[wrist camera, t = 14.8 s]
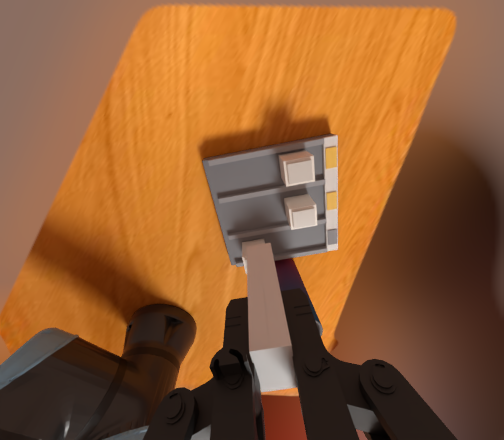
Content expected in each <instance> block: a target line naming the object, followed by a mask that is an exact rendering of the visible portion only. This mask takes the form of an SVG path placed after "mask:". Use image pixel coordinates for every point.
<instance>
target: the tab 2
mask: <svg viewBox="0 0 504 440" xmlns="http://www.w3.org/2000/svg"><path fill="white" fill-rule="evenodd" d="M279 164H280V172H281V178H282V180H283V182H284V184H285V185H286V187H287V186H293V185H298V184H304V183H309V182H315V169H314V156H313V155H312V154H310V153H309V152H307V151H306V150H302V151H297V152H292V153H287V154H281V155H279Z"/></svg>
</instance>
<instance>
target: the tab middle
mask: <svg viewBox="0 0 504 440" xmlns="http://www.w3.org/2000/svg"><path fill="white" fill-rule="evenodd" d="M284 204H285V212H286V218H287V220H288V223H289V226H290V228H291V230H294V229H300V228H305V227H311V226H317V208H316V203H315V202H314V201H313V199H312V198H311V197H310V196H309V194H304V195H299V196H293V197H288V198H284Z"/></svg>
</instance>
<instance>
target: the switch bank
mask: <svg viewBox="0 0 504 440" xmlns="http://www.w3.org/2000/svg"><path fill="white" fill-rule="evenodd" d="M302 150H306V151H307V152H309V153H310V154H312V155H313V156H314V169H315V182H309V183H304V184H298V185H293V186H287V187H286V185H285V184H284V182H283V180H282V178H281V172H280V164H279V155H281V154H287V153H292V152H297V151H302ZM202 162H203V166H204V169H205V173H206V176H207V180H208V183H209V187H210V190H211V194H212V197H213V201H214V204H215V208H216V212H217V215H218V219H219V222H220V226H221V229H222V233H223V236H224V240H225V243H226V247H227V250H228V254H229V258H230V261H231V265H236V266H237V267H240V266H244V264H243V260H242V242H247V241H252V240H258V239H264V241H265V244H266V243H271V248H272V253H273V257H274V261H276V260H282V259H288V258H294V257H300V256H306V255H312V254H318V253H324V252H327V251H332V250H338V135H334V134H327V135H321V136H316V137H311V138H306V139H301V140H296V141H291V142H285V143H280V144H275V145H270V146H265V147H260V148H255V149H250V150H244V151H239V152H234V153H229V154H224V155H219V156H214V157H208V158H204V159H203V161H202ZM304 194H309V196H310V197H311V198H312V199H313V201H314V202H315V203H316V208H317V226H311V227H305V228H300V229H294V230H291V228H290V226H289V223H288V220H287V218H286V212H285V204H284V198H288V197H293V196H299V195H304Z"/></svg>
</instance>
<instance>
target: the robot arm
mask: <svg viewBox="0 0 504 440" xmlns="http://www.w3.org/2000/svg"><path fill="white" fill-rule="evenodd" d="M247 285H248V297H245V298H239V299H233V300H231V301H230V303H229V304H228V306H227V308H226V318H225V319H226V320H225V330H224V342H223V348H222V349H221V350H219V351H218V352H217V353H216V354H215V355H214V357H213V358H212V360H211V364H210V369H211V372H212V374H213V376H214V377H213V378H212V379H211V380H209V381H208V382H206V383H205V384H203V385H201V386H199V387H197V388H195V389H194V390H192V391H190V390H189V389H186V388H184V387H183V388H176V389H175V385H176V381H177V377H178V372H179V368H180V365H181V363H182V361H183V360H184V358H185V356H186V355H187V353H188V351H189V349H190V347H191V346H192V344H193V342H194V339H195V335H196V329H197V328H196V323H195V321H194V319H193V318H192V317H191V316H190V315H189V314H188V313H186V312H185V311H183V310H182V309H179V308H177V307H174V306H170V305H163V304H155V305H149V306H145V307H143V308H141V309H139V310H138V311H136V312H135V313H134V315H133V316H132V318H131V320H130V322H129V324H128V326H127V330H126V337H125V343H124V350H123V354H122V356H121V357H119V356H117V355H115V354H113V353H111V352H109V351H107V350H105V349H102V348H100V347H98V346H96V345H94V344H92V343H90V342H88V341H86V340H84V339H82V338H80V337H79V336H78V335H73V334H70V333H68V332H65V331H63V330H60V329H58V328H47V329H44V330H42V331H40V332H38V333H37V334H36V335H35V336H33V337H32V338H31V339H30V340H29V341H27V342H26V343H25V344H24V345H23V346H22V347H20V348H19V349H18V350H17V351H16V352H15V353H14V354H12V355H11V356H10V357H9V358H8V359H7V360H6V361H5V362H3V363H2V364H1V365H0V440H265V425H264V411H263V407H262V403H261V392H267V391H274V390H281V389H288V388H296V387H298V393H299V398H300V403H301V410H302V415H303V420H304V424H305V430H306V435H307V440H359V437H358V435H357V432H356V429H358V430H361V431H363V432H364V434H365V436H366V437H367V439H368V440H457V439H456V437H455V436H454V435H453V434H452V433H451V432H450V430H449V429H448V428H447V427H446V426H445V425H444V423H443V422H442V421H441V420H440V419H439V418H438V416H437V415H436V414H435V413H434V412H433V411H432V409H431V408H430V407H429V406H428V405H427V403H426V402H425V401H424V400H423V399H422V398H421V397H420V395H419V394H418V393H417V392H416V391H415V389H414V388H413V387H412V386H411V385H410V384H409V382H408V381H407V380H406V379H405V378H404V377H403V375H402V374H401V373H400V372H399V371H398V370H397V369H396V368H394V366H392V365H390V364H389V363H387V362H385V361H383V360H377V359H372V360H367V361H366V362H364V363H363V364H362V365H357V364H352V363H347V362H343V361H340V360H338V359H336V358H335V357H333V356H332V355H331V354H330V353H329V352H328V351H327V350H326V348H325V346H324V344H323V342H322V339H321V336H320V333H319V330H318V327H317V324H316V321H315V319H314V316H313V313H312V310H311V307H310V304H309V301H308V298H307V295H306V294H305V293H304V292H303V291H302V290H301V289H300V288H297V289H291V290H285V291H280V287H279V282H278V277H277V272H276V267H275V262H274V257H273V253H272V248H271V243H266V244H260V245H254V246H248V247H247ZM260 389H261V390H260Z"/></svg>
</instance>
